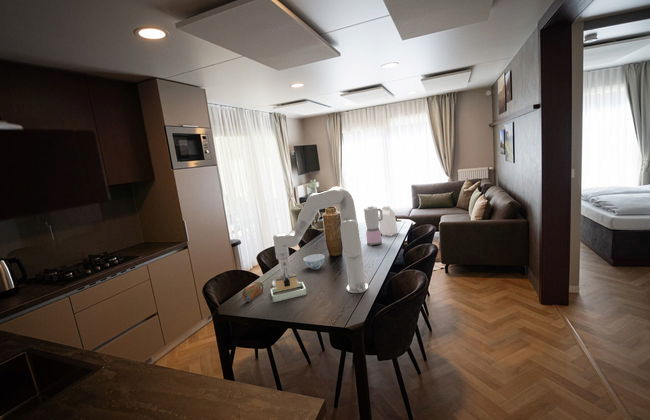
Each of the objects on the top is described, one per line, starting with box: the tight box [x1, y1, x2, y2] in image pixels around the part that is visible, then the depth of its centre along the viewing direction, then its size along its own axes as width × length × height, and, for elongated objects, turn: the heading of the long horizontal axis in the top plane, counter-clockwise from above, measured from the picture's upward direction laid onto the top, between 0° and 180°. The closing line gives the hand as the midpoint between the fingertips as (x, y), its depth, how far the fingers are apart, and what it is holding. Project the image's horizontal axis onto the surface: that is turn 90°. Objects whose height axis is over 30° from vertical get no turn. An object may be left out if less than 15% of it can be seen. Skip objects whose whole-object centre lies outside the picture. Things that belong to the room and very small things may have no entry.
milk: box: [378, 205, 398, 237], centre depth 279 cm, size 12×12×26 cm
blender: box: [363, 205, 383, 247], centre depth 253 cm, size 16×12×32 cm
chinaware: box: [303, 253, 325, 271], centre depth 217 cm, size 15×15×8 cm
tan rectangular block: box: [274, 273, 299, 292], centre depth 178 cm, size 3×12×7 cm, turn 105°
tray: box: [270, 281, 308, 303], centre depth 179 cm, size 12×20×3 cm, turn 105°
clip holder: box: [271, 279, 299, 288], centre depth 193 cm, size 12×16×4 cm
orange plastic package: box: [241, 281, 264, 303], centre depth 180 cm, size 15×3×8 cm, turn 148°
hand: (286, 284), depth 178 cm, fingers closed on tan rectangular block, 3 cm apart
